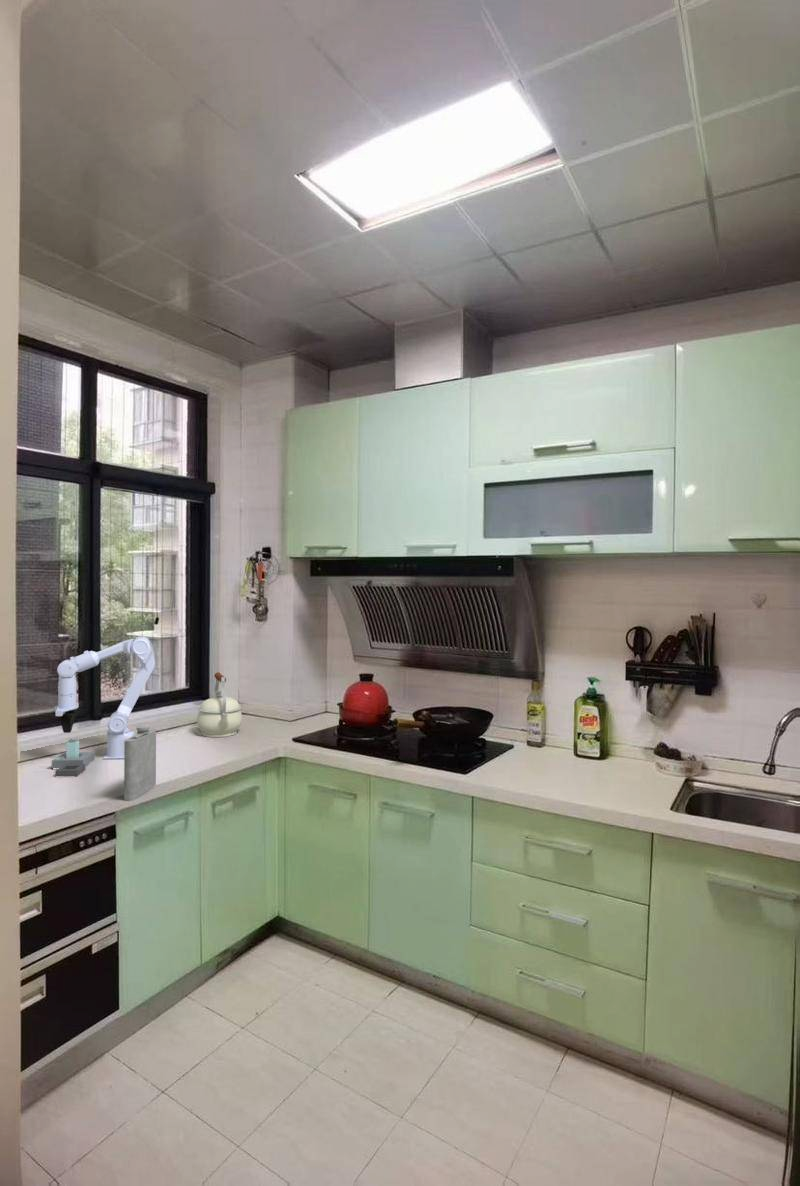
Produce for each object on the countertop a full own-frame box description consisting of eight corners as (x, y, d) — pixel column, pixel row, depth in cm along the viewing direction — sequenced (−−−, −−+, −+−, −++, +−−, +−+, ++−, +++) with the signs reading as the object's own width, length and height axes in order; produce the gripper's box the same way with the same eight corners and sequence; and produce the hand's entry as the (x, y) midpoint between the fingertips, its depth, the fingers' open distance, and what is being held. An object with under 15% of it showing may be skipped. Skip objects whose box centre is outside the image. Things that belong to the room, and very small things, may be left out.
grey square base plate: (85, 770, 210) (85, 764, 210) (77, 776, 203) (77, 770, 203) (64, 770, 209) (64, 764, 209) (55, 776, 203) (55, 770, 203)
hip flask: (147, 783, 198) (148, 720, 197) (160, 783, 197) (160, 720, 197) (122, 800, 182) (122, 732, 181) (135, 801, 182) (135, 732, 181)
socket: (94, 760, 221) (94, 751, 221) (83, 768, 212) (83, 759, 211) (64, 760, 220) (64, 751, 220) (51, 769, 210) (51, 759, 210)
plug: (79, 763, 218) (79, 738, 217) (75, 766, 215) (75, 740, 214) (70, 763, 217) (70, 738, 217) (66, 766, 214) (66, 740, 214)
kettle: (193, 729, 269) (194, 672, 268) (237, 726, 277) (237, 670, 276) (201, 743, 246) (202, 680, 246) (248, 739, 254) (249, 678, 253)
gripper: (64, 690, 228) (64, 727, 228) (46, 697, 213) (46, 737, 214) (84, 690, 229) (84, 727, 229) (67, 697, 214) (67, 737, 214)
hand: (67, 732), depth 221 cm, fingers closed
